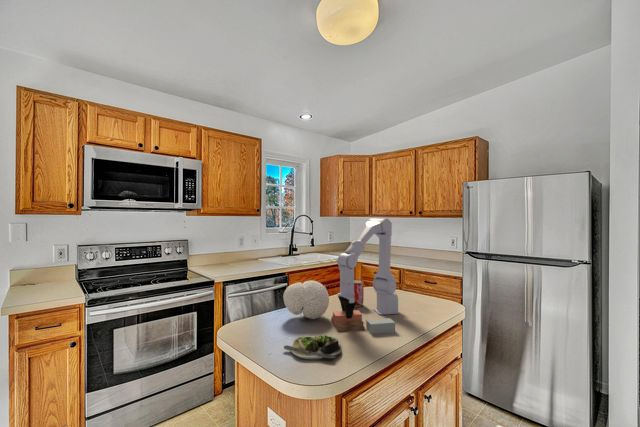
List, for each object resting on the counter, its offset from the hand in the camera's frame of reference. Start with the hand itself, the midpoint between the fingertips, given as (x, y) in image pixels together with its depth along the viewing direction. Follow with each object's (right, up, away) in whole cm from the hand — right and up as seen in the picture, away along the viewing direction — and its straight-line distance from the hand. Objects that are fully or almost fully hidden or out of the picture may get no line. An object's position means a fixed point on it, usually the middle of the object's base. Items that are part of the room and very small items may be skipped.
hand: (347, 315), depth 125 cm
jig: (0, -4, 0) cm, 4 cm away
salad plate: (-12, -5, -22) cm, 26 cm away
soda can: (+7, -4, +27) cm, 28 cm away
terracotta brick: (0, -3, 0) cm, 3 cm away
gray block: (+13, -4, -6) cm, 15 cm away
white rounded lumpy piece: (-17, -4, +7) cm, 19 cm away
